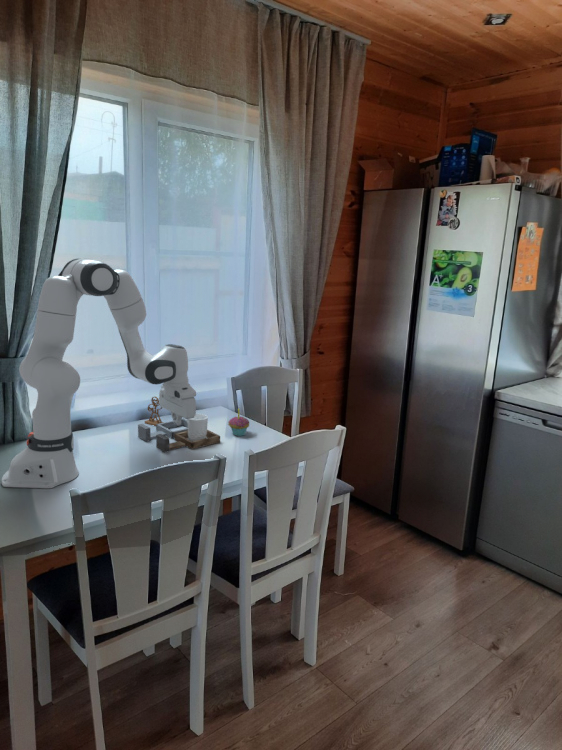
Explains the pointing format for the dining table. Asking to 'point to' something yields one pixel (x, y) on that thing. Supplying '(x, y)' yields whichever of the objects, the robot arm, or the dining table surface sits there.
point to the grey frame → (160, 430)
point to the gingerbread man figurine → (151, 420)
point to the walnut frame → (184, 441)
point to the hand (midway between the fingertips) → (177, 423)
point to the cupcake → (238, 425)
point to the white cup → (197, 427)
